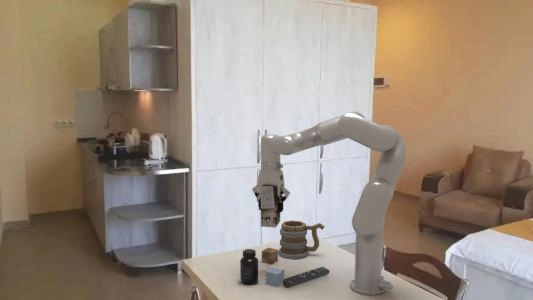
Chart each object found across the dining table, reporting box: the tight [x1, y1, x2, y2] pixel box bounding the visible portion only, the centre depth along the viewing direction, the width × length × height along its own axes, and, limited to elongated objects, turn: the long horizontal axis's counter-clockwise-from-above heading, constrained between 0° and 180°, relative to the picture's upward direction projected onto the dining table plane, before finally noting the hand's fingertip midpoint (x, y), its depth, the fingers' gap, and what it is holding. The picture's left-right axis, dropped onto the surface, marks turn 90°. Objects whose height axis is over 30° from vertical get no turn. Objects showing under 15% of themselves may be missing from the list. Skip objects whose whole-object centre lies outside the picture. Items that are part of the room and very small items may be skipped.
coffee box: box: [260, 185, 281, 229], centre depth 171 cm, size 9×6×16 cm
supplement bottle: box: [239, 248, 259, 286], centre depth 165 cm, size 7×7×12 cm
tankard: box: [278, 220, 325, 260], centre depth 193 cm, size 20×13×15 cm, turn 73°
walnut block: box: [261, 247, 279, 265], centre depth 186 cm, size 5×5×5 cm
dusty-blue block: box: [265, 266, 285, 288], centre depth 164 cm, size 5×5×5 cm
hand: (270, 210), depth 172 cm, fingers closed on coffee box, 7 cm apart
